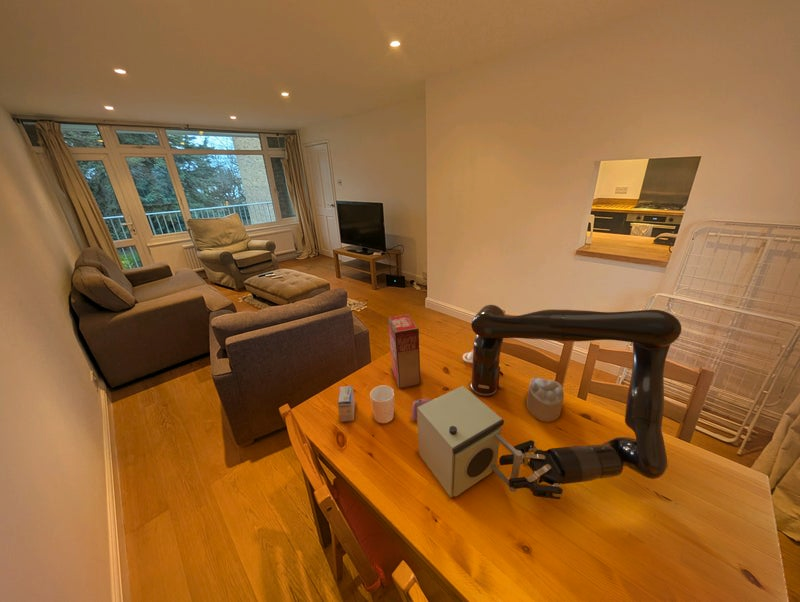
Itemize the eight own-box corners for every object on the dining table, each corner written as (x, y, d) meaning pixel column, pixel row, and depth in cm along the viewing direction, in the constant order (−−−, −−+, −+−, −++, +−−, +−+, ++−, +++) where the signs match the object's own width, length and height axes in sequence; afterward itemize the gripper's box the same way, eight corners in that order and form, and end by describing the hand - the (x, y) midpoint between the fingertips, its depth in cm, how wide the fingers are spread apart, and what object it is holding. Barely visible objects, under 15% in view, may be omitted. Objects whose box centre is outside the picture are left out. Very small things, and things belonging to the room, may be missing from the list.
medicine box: (343, 405, 106) (339, 386, 102) (355, 404, 106) (352, 385, 102) (340, 422, 99) (337, 402, 95) (354, 421, 99) (351, 401, 95)
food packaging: (391, 368, 124) (387, 316, 114) (412, 364, 126) (410, 312, 116) (398, 389, 112) (394, 332, 102) (422, 384, 114) (420, 328, 104)
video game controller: (441, 418, 100) (440, 398, 100) (441, 423, 95) (441, 402, 96) (412, 417, 101) (412, 397, 101) (411, 422, 96) (411, 401, 97)
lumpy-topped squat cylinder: (559, 398, 103) (563, 378, 100) (561, 425, 93) (566, 404, 89) (527, 391, 108) (530, 372, 104) (525, 416, 97) (529, 396, 93)
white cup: (398, 410, 102) (397, 387, 98) (390, 427, 96) (389, 403, 91) (378, 405, 105) (375, 383, 101) (369, 422, 98) (366, 399, 94)
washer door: (493, 467, 80) (498, 428, 74) (518, 493, 73) (525, 452, 67) (453, 494, 74) (454, 454, 68) (476, 525, 67) (480, 483, 61)
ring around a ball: (465, 367, 122) (484, 366, 122) (466, 356, 120) (485, 354, 120) (460, 357, 129) (478, 355, 130) (460, 346, 127) (478, 344, 128)
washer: (460, 430, 93) (463, 382, 85) (497, 468, 81) (504, 417, 73) (418, 453, 86) (416, 404, 78) (452, 499, 74) (454, 446, 66)
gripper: (590, 504, 65) (516, 513, 64) (554, 449, 78) (492, 456, 77) (597, 482, 62) (520, 491, 61) (558, 428, 75) (494, 435, 74)
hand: (504, 471), depth 69 cm, fingers open, 5 cm apart
